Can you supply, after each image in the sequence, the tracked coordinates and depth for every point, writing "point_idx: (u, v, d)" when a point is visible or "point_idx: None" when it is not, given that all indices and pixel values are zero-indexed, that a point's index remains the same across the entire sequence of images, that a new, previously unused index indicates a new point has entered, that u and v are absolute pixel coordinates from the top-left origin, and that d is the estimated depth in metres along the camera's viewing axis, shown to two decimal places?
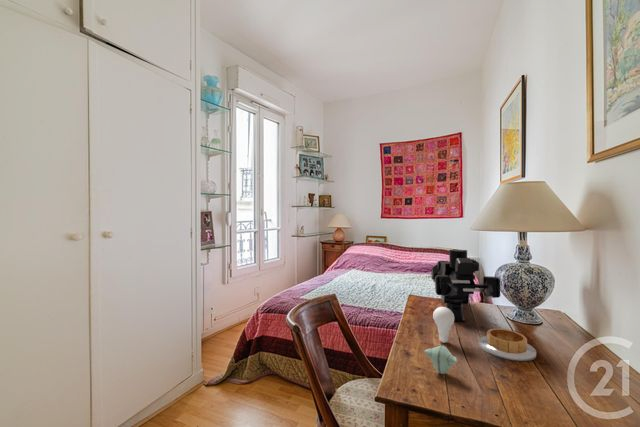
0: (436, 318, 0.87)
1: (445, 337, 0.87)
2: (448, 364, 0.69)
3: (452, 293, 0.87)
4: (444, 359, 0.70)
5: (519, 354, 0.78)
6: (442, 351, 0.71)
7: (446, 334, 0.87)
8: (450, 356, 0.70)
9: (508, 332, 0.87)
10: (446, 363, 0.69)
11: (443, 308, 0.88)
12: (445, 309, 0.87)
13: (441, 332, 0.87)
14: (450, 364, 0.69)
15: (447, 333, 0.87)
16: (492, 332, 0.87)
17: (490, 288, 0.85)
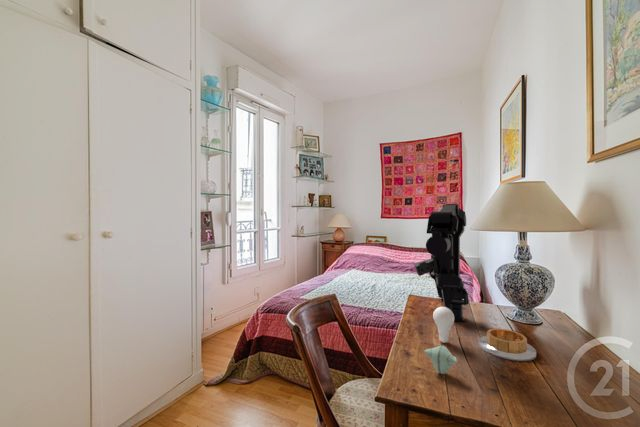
0: (436, 318, 0.87)
1: (445, 337, 0.87)
2: (447, 364, 0.69)
3: None
4: (444, 359, 0.70)
5: (519, 354, 0.78)
6: (442, 351, 0.71)
7: (446, 334, 0.87)
8: (450, 356, 0.70)
9: (508, 332, 0.87)
10: (446, 363, 0.69)
11: (443, 308, 0.88)
12: (445, 309, 0.87)
13: (441, 332, 0.87)
14: (450, 364, 0.69)
15: (447, 333, 0.87)
16: (492, 332, 0.87)
17: (443, 298, 0.84)
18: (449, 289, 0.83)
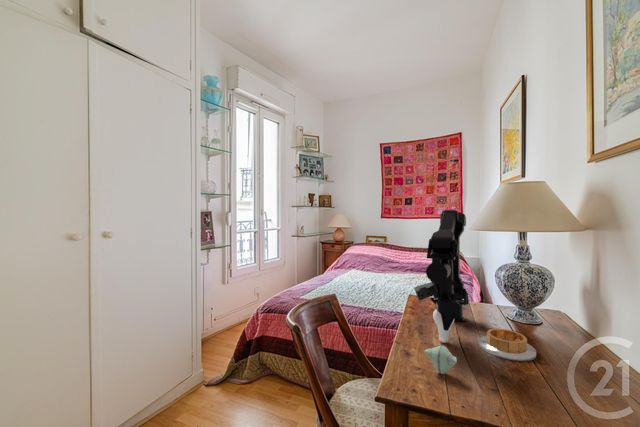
0: (436, 318, 0.87)
1: (445, 337, 0.87)
2: (448, 364, 0.69)
3: None
4: (444, 359, 0.70)
5: (519, 354, 0.78)
6: (442, 351, 0.71)
7: (446, 334, 0.87)
8: (450, 356, 0.70)
9: (508, 332, 0.87)
10: (446, 363, 0.69)
11: None
12: None
13: (441, 332, 0.87)
14: (450, 364, 0.69)
15: (447, 333, 0.87)
16: (492, 332, 0.87)
17: (442, 322, 0.85)
18: (448, 313, 0.84)
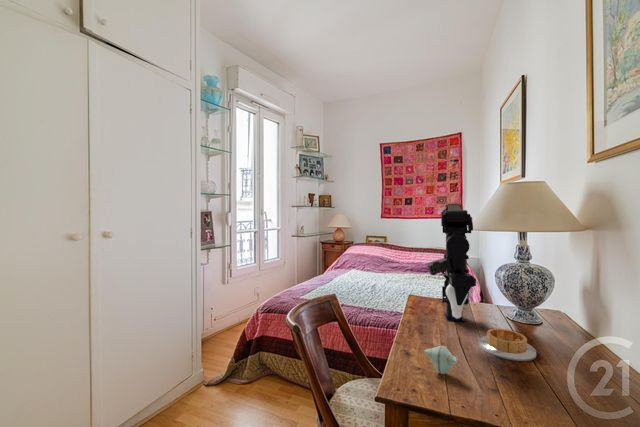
0: (449, 293, 0.86)
1: (458, 313, 0.86)
2: (448, 364, 0.69)
3: None
4: (444, 359, 0.70)
5: (519, 354, 0.78)
6: (442, 351, 0.71)
7: (459, 309, 0.86)
8: (450, 356, 0.70)
9: (508, 332, 0.87)
10: (446, 363, 0.69)
11: None
12: None
13: (454, 307, 0.86)
14: (450, 364, 0.69)
15: (460, 308, 0.86)
16: (492, 332, 0.87)
17: None
18: (461, 287, 0.83)
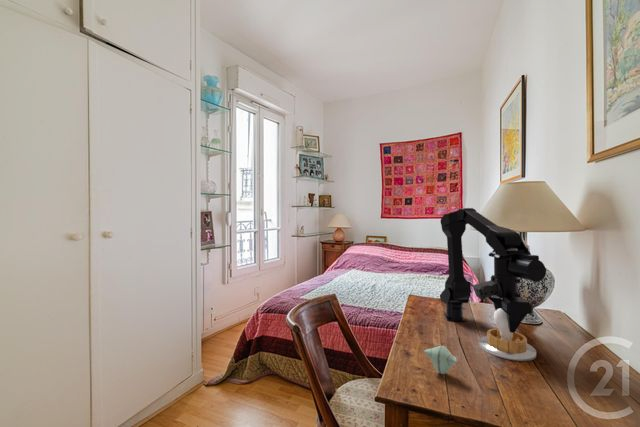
0: (499, 320, 0.82)
1: (509, 340, 0.82)
2: (448, 364, 0.69)
3: None
4: (444, 359, 0.70)
5: (519, 354, 0.78)
6: (442, 351, 0.71)
7: (510, 337, 0.82)
8: (450, 356, 0.70)
9: None
10: (446, 363, 0.69)
11: None
12: None
13: (504, 334, 0.83)
14: (450, 364, 0.69)
15: (511, 335, 0.82)
16: (492, 332, 0.87)
17: (508, 324, 0.80)
18: (515, 314, 0.79)
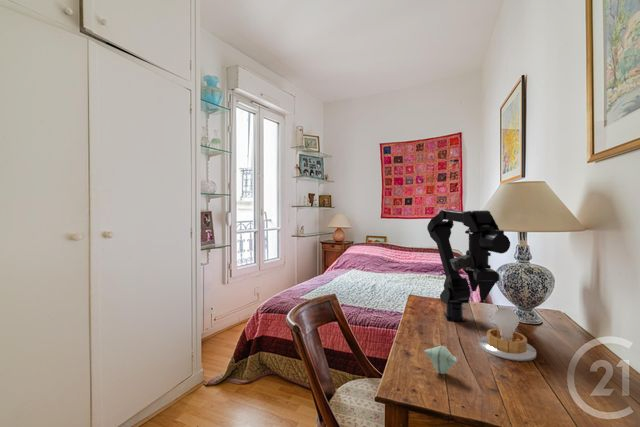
0: (500, 320, 0.82)
1: (509, 340, 0.82)
2: (448, 364, 0.69)
3: None
4: (444, 359, 0.70)
5: (519, 354, 0.78)
6: (442, 351, 0.71)
7: (510, 337, 0.82)
8: (450, 356, 0.70)
9: None
10: (446, 363, 0.69)
11: (506, 309, 0.83)
12: (509, 310, 0.83)
13: (504, 335, 0.83)
14: (450, 364, 0.69)
15: (511, 336, 0.82)
16: (492, 332, 0.87)
17: (480, 292, 0.90)
18: (486, 283, 0.89)
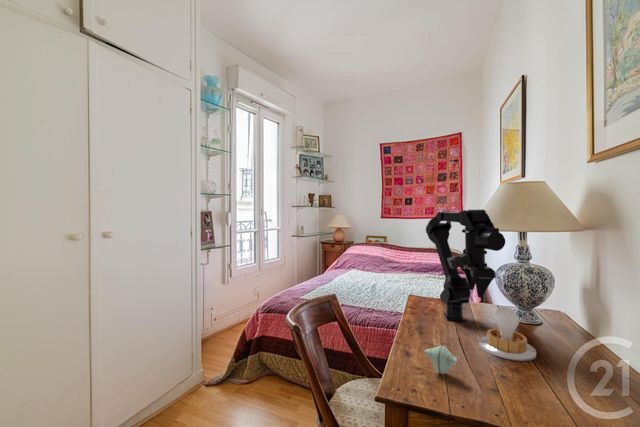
0: (500, 320, 0.82)
1: (509, 340, 0.82)
2: (448, 364, 0.69)
3: None
4: (444, 359, 0.70)
5: (519, 354, 0.78)
6: (442, 351, 0.71)
7: (510, 337, 0.82)
8: (450, 356, 0.70)
9: None
10: (446, 363, 0.69)
11: (506, 309, 0.83)
12: (509, 310, 0.83)
13: (505, 335, 0.83)
14: (450, 364, 0.69)
15: (511, 336, 0.82)
16: (492, 332, 0.87)
17: (477, 290, 0.91)
18: (482, 281, 0.90)
